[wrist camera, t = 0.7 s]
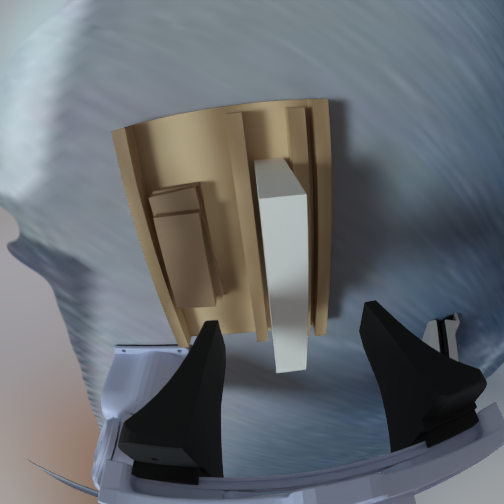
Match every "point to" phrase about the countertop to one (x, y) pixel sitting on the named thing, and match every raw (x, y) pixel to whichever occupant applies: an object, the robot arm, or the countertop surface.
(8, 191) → the countertop surface
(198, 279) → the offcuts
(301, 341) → the white rectangular block
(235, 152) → the rack
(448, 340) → the grey curved slab
